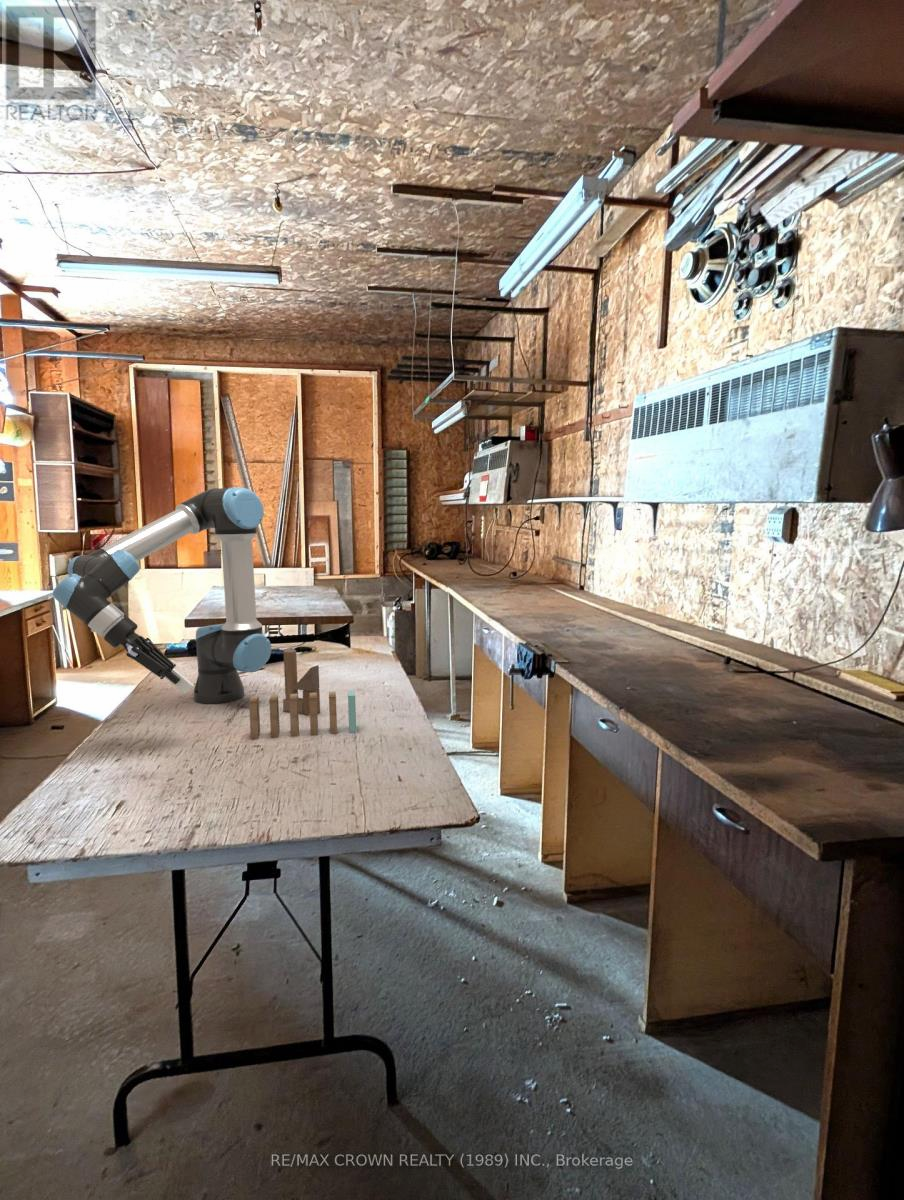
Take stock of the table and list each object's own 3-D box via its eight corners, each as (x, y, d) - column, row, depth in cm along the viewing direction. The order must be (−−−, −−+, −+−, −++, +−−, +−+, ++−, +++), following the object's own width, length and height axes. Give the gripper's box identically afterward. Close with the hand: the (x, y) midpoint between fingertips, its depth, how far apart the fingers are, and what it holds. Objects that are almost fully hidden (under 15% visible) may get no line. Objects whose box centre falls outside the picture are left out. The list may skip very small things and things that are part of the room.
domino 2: (272, 731, 173) (271, 695, 172) (279, 731, 173) (278, 694, 172) (271, 738, 168) (269, 700, 167) (278, 737, 169) (276, 700, 167)
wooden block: (313, 716, 186) (310, 654, 183) (282, 711, 190) (280, 651, 188) (320, 712, 189) (318, 651, 187) (290, 708, 194) (288, 648, 191)
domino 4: (311, 729, 175) (309, 692, 173) (318, 728, 175) (316, 692, 174) (310, 735, 170) (309, 698, 169) (317, 734, 170) (316, 697, 169)
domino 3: (292, 730, 174) (290, 693, 173) (299, 729, 174) (297, 693, 173) (290, 736, 169) (289, 699, 168) (298, 736, 169) (296, 698, 168)
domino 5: (330, 727, 176) (328, 691, 174) (336, 727, 176) (335, 691, 175) (330, 734, 171) (328, 697, 169) (337, 733, 171) (335, 696, 170)
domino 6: (348, 726, 177) (347, 690, 175) (355, 726, 177) (354, 690, 176) (349, 732, 172) (348, 695, 170) (356, 732, 172) (355, 695, 171)
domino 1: (253, 732, 172) (251, 696, 171) (260, 732, 173) (258, 695, 171) (250, 739, 167) (249, 701, 166) (258, 738, 168) (256, 701, 166)
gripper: (112, 632, 166) (185, 693, 171) (93, 642, 153) (172, 707, 158) (133, 611, 166) (205, 672, 171) (116, 619, 153) (194, 685, 159)
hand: (189, 689), depth 165 cm, fingers closed
